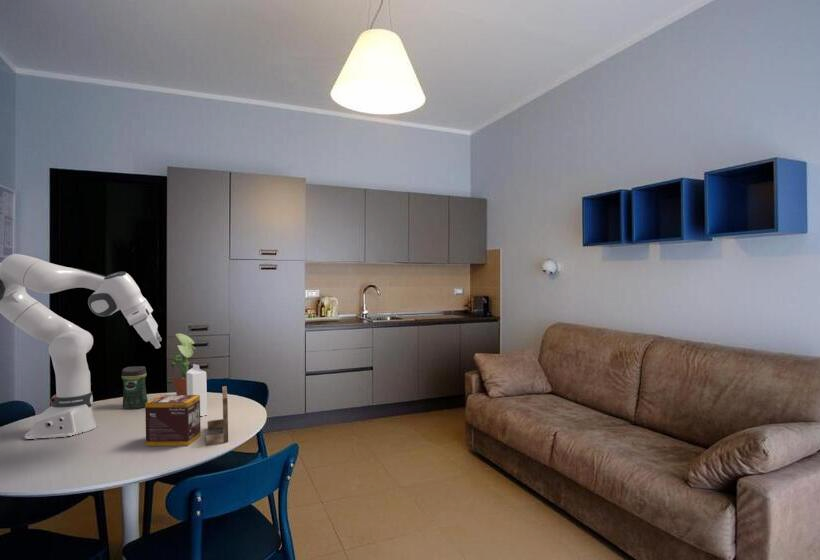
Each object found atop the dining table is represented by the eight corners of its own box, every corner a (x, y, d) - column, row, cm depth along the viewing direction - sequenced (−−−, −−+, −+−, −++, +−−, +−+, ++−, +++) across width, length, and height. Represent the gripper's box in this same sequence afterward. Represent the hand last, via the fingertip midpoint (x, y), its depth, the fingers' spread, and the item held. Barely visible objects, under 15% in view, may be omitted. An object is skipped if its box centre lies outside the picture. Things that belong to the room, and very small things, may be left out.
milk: (193, 419, 200) (191, 366, 199) (187, 416, 204) (185, 364, 203) (207, 415, 204) (206, 364, 203) (201, 412, 208) (200, 362, 207)
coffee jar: (150, 404, 222) (149, 364, 222) (142, 409, 214) (141, 368, 214) (128, 404, 221) (127, 365, 221) (119, 410, 214) (118, 368, 213)
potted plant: (163, 407, 216) (161, 330, 215) (189, 398, 231) (187, 326, 230) (190, 410, 211) (188, 332, 210) (215, 401, 225) (213, 327, 224)
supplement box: (188, 446, 169) (187, 402, 169) (145, 446, 169) (144, 402, 169) (201, 435, 180) (200, 394, 179) (161, 435, 180) (160, 394, 179)
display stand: (206, 445, 170) (205, 400, 169) (207, 428, 187) (206, 388, 187) (228, 442, 172) (227, 398, 172) (227, 426, 190) (226, 386, 190)
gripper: (132, 311, 182) (152, 342, 186) (127, 322, 163) (149, 356, 167) (149, 303, 184) (168, 333, 188) (145, 313, 165) (166, 346, 170)
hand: (159, 344), depth 177 cm, fingers open, 8 cm apart
